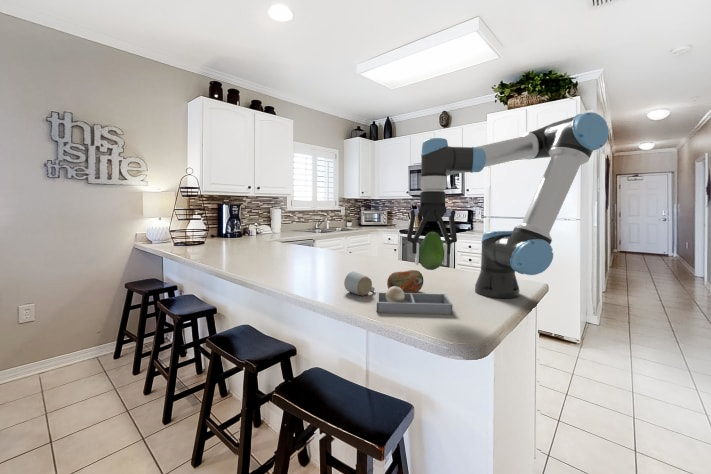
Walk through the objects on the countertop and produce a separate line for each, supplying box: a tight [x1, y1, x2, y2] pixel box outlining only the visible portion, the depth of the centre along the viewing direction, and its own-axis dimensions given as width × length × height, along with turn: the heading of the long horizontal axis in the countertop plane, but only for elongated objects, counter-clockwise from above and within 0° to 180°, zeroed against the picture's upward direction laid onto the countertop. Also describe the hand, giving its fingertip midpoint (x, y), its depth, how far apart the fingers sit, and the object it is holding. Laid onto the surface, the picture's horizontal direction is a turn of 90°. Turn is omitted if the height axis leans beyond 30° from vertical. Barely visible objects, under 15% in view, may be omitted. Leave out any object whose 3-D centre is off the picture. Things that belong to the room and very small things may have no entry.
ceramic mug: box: [344, 271, 375, 296], centre depth 121 cm, size 11×8×8 cm
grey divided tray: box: [376, 291, 453, 315], centre depth 105 cm, size 23×12×3 cm, turn 86°
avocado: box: [419, 231, 444, 271], centre depth 102 cm, size 8×8×12 cm
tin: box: [386, 269, 424, 293], centre depth 121 cm, size 15×3×8 cm, turn 117°
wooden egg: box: [385, 286, 405, 303], centre depth 105 cm, size 6×6×6 cm
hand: (430, 264), depth 103 cm, fingers closed on avocado, 8 cm apart
